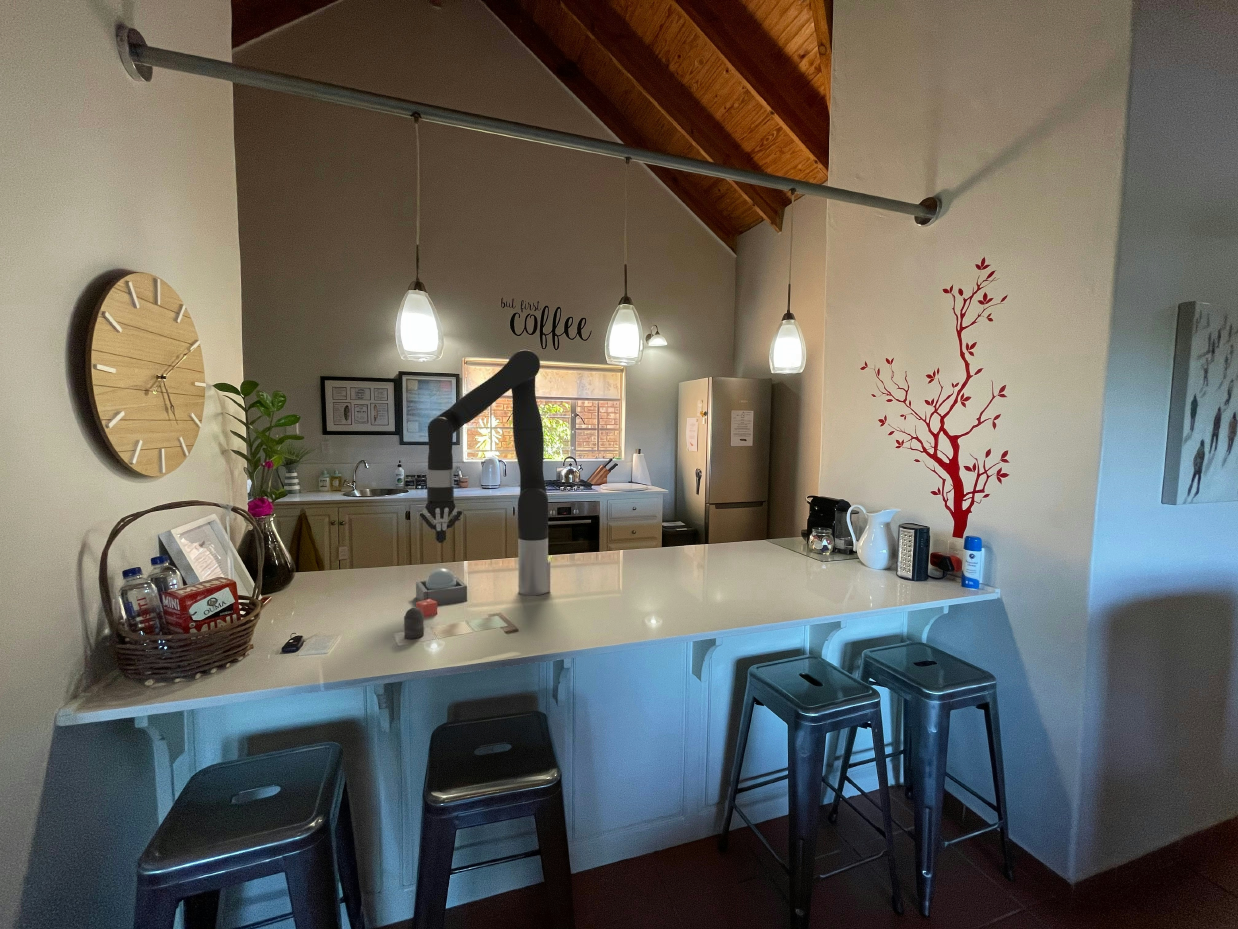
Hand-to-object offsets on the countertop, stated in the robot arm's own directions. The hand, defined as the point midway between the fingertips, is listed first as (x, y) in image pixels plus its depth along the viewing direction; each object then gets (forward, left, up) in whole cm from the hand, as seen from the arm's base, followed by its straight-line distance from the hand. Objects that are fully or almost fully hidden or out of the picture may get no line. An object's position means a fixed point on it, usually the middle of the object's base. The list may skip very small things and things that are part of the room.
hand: (440, 542), depth 163 cm
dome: (0, 0, -15) cm, 15 cm away
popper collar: (0, 0, -17) cm, 17 cm away
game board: (+4, +29, -17) cm, 34 cm away
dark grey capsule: (+13, +29, -16) cm, 36 cm away
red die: (+7, +14, -17) cm, 23 cm away
